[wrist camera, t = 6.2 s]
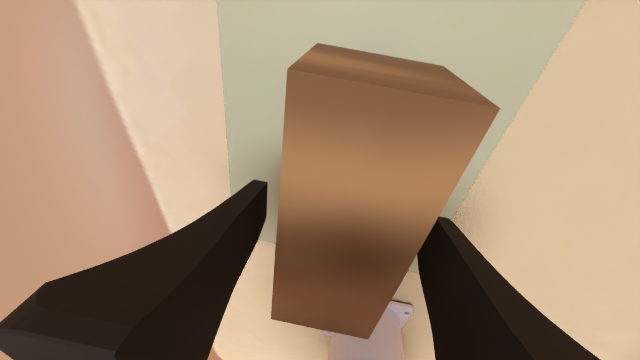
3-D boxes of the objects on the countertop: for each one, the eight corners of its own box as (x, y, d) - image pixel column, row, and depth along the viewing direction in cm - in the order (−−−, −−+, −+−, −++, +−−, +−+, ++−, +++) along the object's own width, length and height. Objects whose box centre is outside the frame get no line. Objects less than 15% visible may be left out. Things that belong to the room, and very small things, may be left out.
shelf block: (366, 258, 17) (368, 339, 13) (292, 243, 17) (271, 318, 13) (443, 65, 10) (500, 108, 6) (317, 42, 10) (287, 68, 6)
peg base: (416, 262, 22) (425, 307, 19) (238, 226, 23) (218, 263, 19) (587, -29, 11) (686, -43, 7) (220, -92, 11) (161, -131, 8)
